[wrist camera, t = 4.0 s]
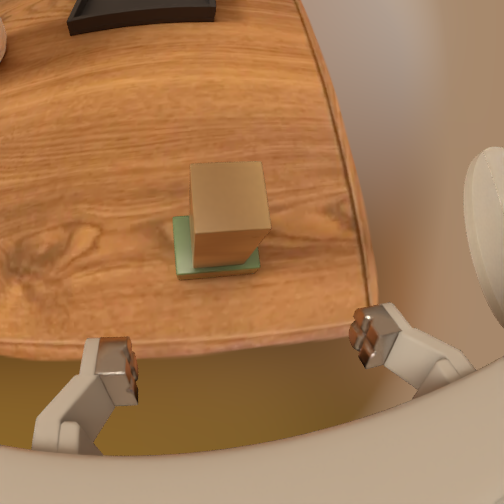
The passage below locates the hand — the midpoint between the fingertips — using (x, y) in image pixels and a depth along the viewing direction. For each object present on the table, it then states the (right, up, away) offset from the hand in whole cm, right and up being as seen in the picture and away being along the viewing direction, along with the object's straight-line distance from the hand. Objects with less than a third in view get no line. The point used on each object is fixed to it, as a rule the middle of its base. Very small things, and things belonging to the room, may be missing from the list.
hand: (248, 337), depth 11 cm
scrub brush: (-2, +3, +10) cm, 11 cm away
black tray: (-12, +34, +16) cm, 40 cm away
